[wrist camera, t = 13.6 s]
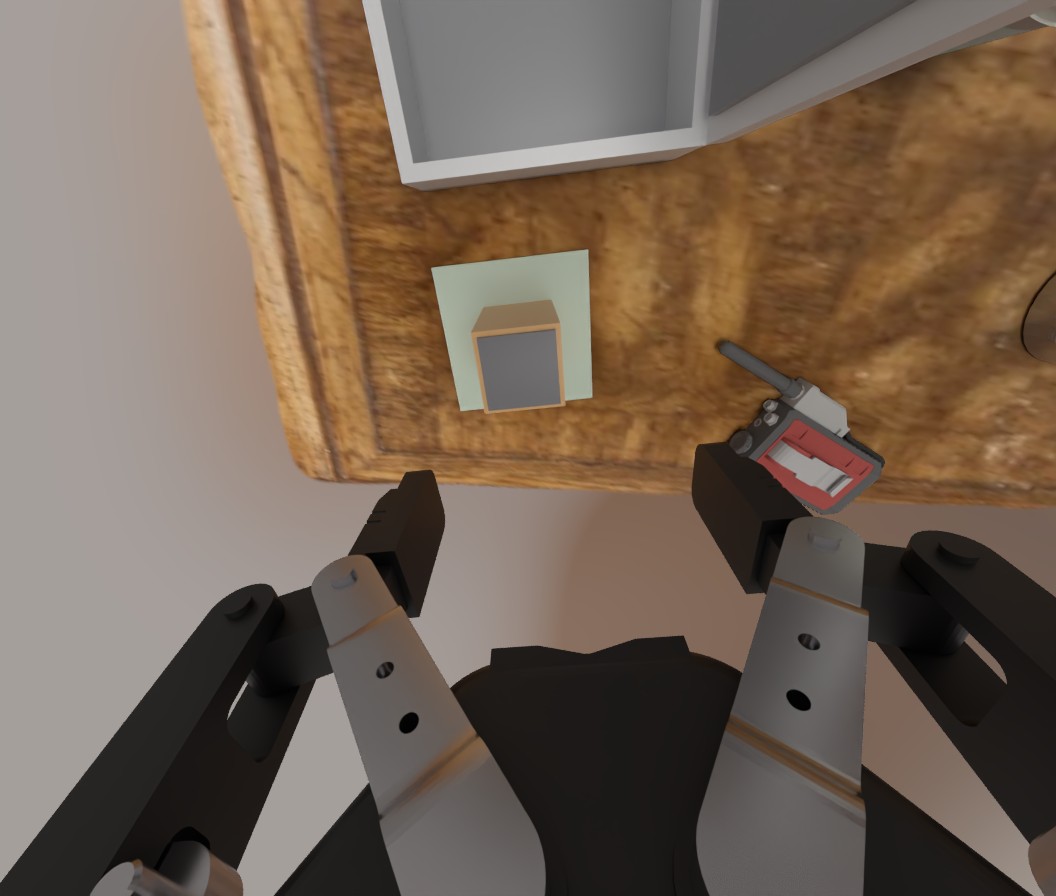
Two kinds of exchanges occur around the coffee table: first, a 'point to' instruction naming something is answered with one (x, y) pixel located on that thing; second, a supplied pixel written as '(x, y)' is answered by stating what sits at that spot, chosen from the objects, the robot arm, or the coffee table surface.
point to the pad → (510, 284)
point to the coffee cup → (1014, 28)
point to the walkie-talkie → (805, 441)
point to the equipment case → (631, 74)
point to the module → (519, 357)
